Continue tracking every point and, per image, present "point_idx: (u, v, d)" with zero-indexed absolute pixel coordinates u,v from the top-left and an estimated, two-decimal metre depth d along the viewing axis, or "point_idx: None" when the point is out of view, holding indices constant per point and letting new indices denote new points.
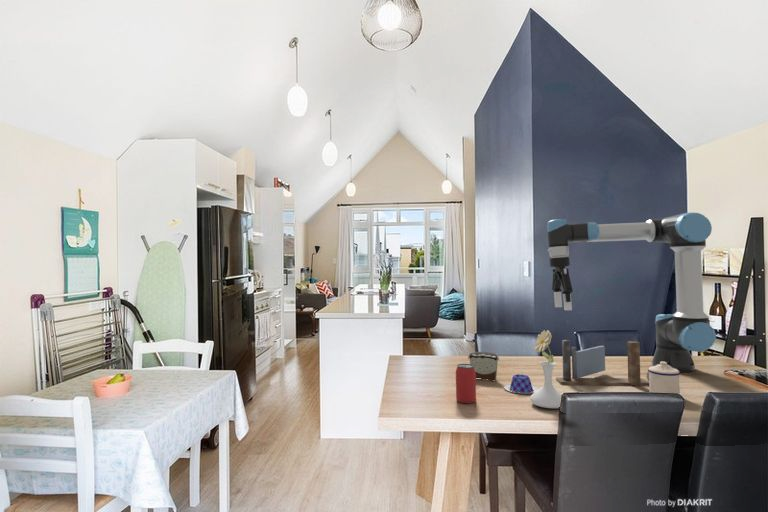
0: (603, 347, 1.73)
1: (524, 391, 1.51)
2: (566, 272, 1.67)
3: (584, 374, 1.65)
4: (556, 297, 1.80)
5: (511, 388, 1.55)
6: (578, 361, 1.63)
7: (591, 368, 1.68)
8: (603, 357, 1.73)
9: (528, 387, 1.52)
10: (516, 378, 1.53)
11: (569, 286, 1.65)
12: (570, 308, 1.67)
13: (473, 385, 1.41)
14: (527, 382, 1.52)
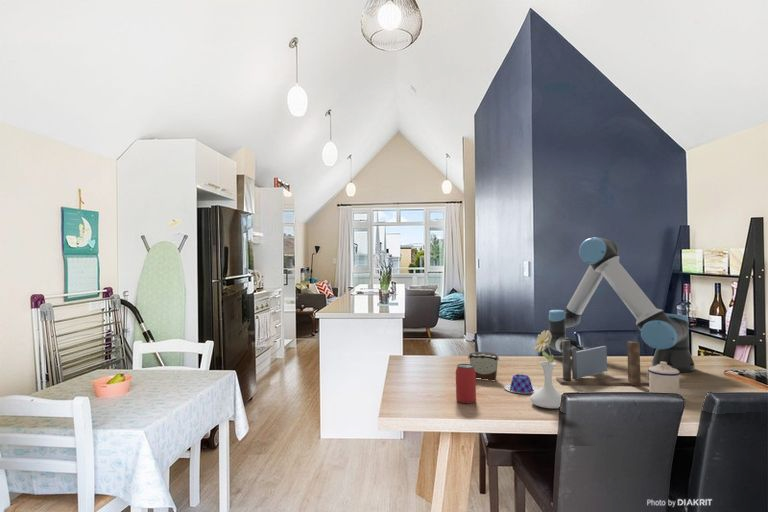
0: (605, 347, 1.72)
1: (524, 391, 1.51)
2: None
3: (584, 374, 1.65)
4: None
5: (511, 388, 1.55)
6: (578, 361, 1.63)
7: (592, 368, 1.68)
8: (605, 357, 1.72)
9: (528, 387, 1.52)
10: (516, 378, 1.53)
11: None
12: None
13: (473, 385, 1.41)
14: (527, 382, 1.52)
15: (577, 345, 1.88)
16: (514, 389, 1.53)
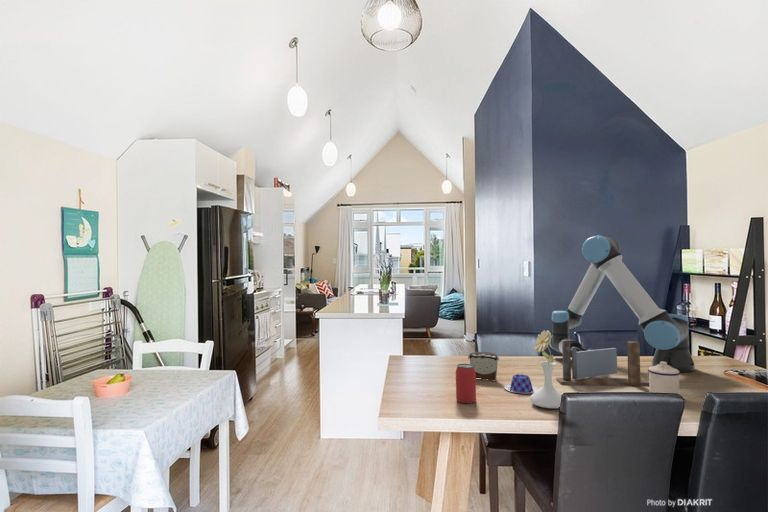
0: (614, 349, 1.68)
1: (525, 391, 1.51)
2: None
3: (587, 375, 1.64)
4: None
5: (511, 388, 1.54)
6: (579, 361, 1.63)
7: (597, 370, 1.65)
8: (614, 360, 1.68)
9: (528, 387, 1.52)
10: (516, 378, 1.53)
11: None
12: None
13: (473, 385, 1.41)
14: (527, 382, 1.52)
15: (581, 347, 1.85)
16: (514, 389, 1.53)
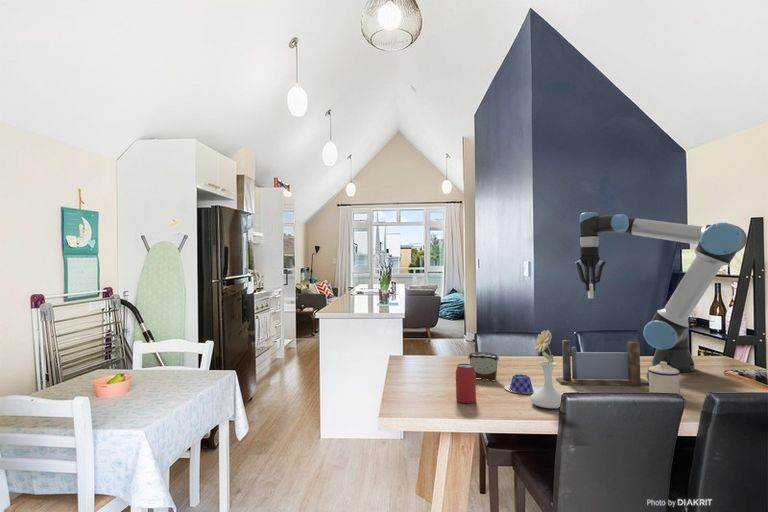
0: None
1: (527, 391, 1.51)
2: (577, 265, 1.93)
3: (590, 377, 1.61)
4: None
5: (513, 389, 1.54)
6: (579, 362, 1.62)
7: (604, 373, 1.61)
8: None
9: (530, 386, 1.52)
10: (518, 378, 1.53)
11: (581, 278, 1.93)
12: (589, 296, 1.92)
13: (473, 385, 1.41)
14: (529, 382, 1.53)
15: (593, 262, 1.91)
16: (517, 390, 1.52)
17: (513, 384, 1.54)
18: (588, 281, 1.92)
